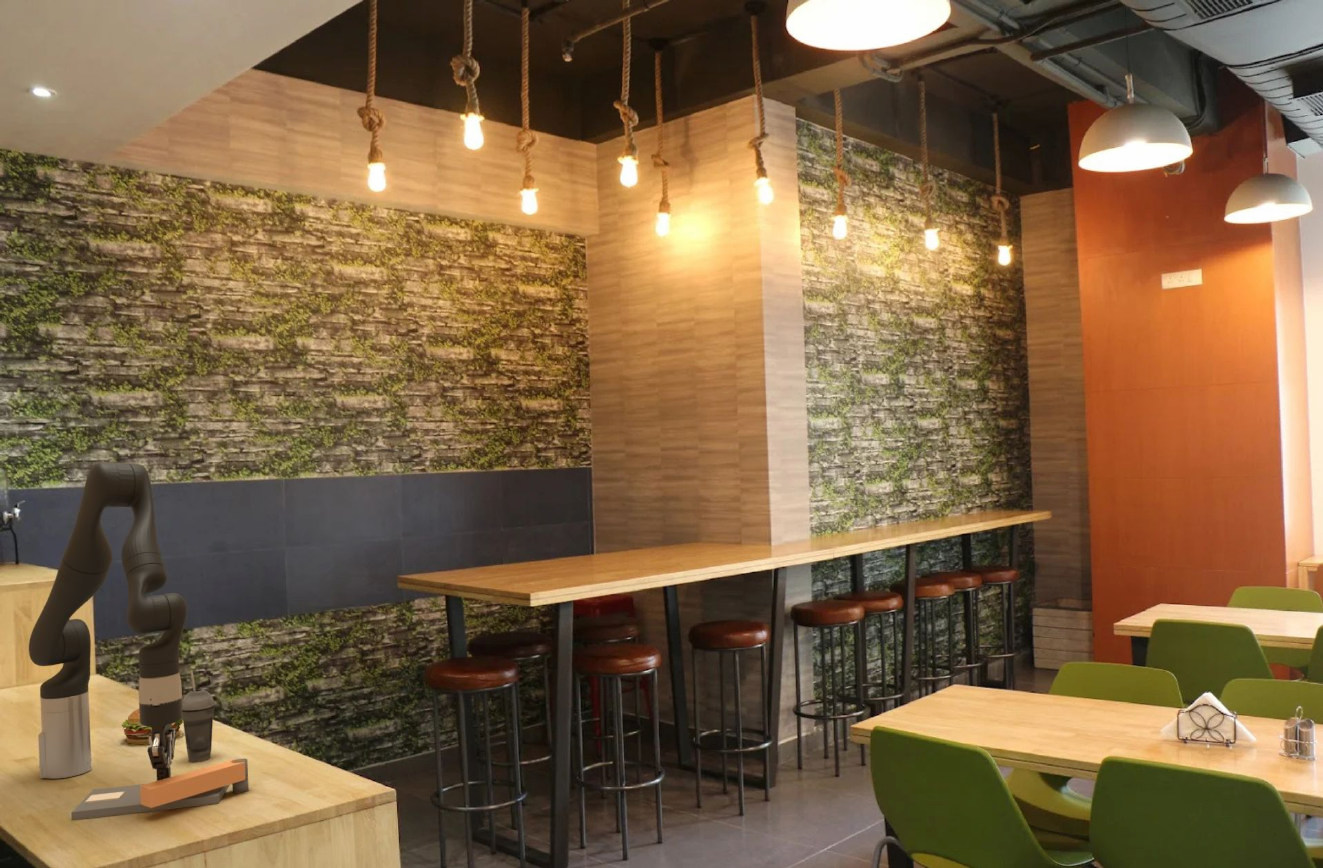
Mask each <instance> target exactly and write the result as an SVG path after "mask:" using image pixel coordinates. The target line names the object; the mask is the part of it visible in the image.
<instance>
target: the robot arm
mask: <svg viewBox="0 0 1323 868" xmlns="http://www.w3.org/2000/svg"><path fill="white" fill-rule="evenodd" d="M83 487H84V488H83V491H82V496H81V499H80V504H79V508H78V511H77V516H76V520H75V522H74V526H73V529H72V530H71V535H70V538H69V540H68V543H67V545H66V547H65V550H64V552H63V555H62V558H61V561H60V563H59V567H58V569H57V573H56V577H55V580H54V582H53V585H52V588H51V590H50V593H49V595H48V598H47V599H46V602H45V604H44V606H43V609H42V611H40V615H39V616H38V618H37V620H36V622H35V625H34V626H33V628H32V630H31V634H30V636H29V637H30V638H29V641H28V655H29V658H30V660H31V662H32V663H33V664H35V665H36V666H39V667H49V666H50V667H51V666H56V665H62V667H61V669H59V671H58V672H57V673H56V674H54V675H53V676H52V677H50V678H48V679H47V680H45V681H43V682H42V683H41V685H40V687H39V697H40V698H39V699H40V719H41V721H40V722H41V723H40V724H41V732H40V733H39V734H38V740H37V741H38V759H39V762H38V763H39V779H54V780H55V779H64V778H65V779H66V778H71V777H74V776H75V777H77V776H79V775H82V774H85V773H88V772H89V771H91V770H92V746H91V745H92V744H91V722H90V719H91V718H90V698H89V697H90V695H89V683H90V679H91V656H92V655H91V651H92V650H91V649H92V648H91V646H92V645H91V633H90V630H89V626H88V625H87V624H86V622H85V621H84V620H82V619H80V618H72V617H73V615H74V614H75V613H76V612H77V611H78V610H80V608H81V607H83V606H84V605H85V604H86V603H87V602H88V601H89V600H90V599H92V597H93V596H95V595H96V593H98V592H99V590H100V589H101V588H102V586H103V585H104V583H105V581H106V578H107V576H108V574H109V573H108V572H109V571H110V567H111V565H112V562H113V551H112V548H111V545H110V543H109V540H108V538H107V537H106V536H107V535H106V534H105V532H104V530H103V529H104V528H103V527H102V524H101V520H102V514H103V511H104V510H105V509H106V508H111V507H112V508H131V510H132V513H133V522H132V525H131V528H130V530H129V532H128V533H127V536H126V538H125V540H124V542H123V545H122V549H121V555H120V556H121V563H122V567H123V570H124V573H125V577H126V582H127V589H128V590H127V594H128V601H127V608H126V623H127V626H128V627H129V628H130V630H131V631H133V632H134V633H136V634H138V635H139V634H149V633H154V632H162V631H163V633H162V635H161V637H160V638H159V639H158V640H156V641H154V642H151V643H149V644H147V645H143V646H142V647H141V648H140V649H139V650H138V651H139V652H138V669H139V673H138V674H139V682H138V705H139V706H138V709H139V712H140V724H141V725H143V726H150V727H151V728H152V731H151V734H150V735H149V745H150V746H149V747H147V751H146V752H147V754H148V758H149V761H150V765H151V767H152V770H156V781H159V780H162V779H166V778H169V777H172V776H171V775H172V772H171V766H172V763H173V760H174V758H175V746H176V737H177V736H176V730H175V729H172V724H173V723H176V722H178V721H180V720H181V719H182V717H183V713H182V700H183V696H182V694H183V693H182V692H183V691H182V680H181V675H180V653H179V652H180V644H181V641H182V635H183V631H184V628H185V624H186V619H187V615H188V605H187V603H186V600H185V599H184V597H183V596H182V595H181V594H179V593H177V592H171V593H170V592H168V593H162V594H154V595H148V594H151V593H153V592H156V591H158V590H160V589H162V588H163V587H164V586H165V585H166V584H167V580H168V577H167V576H168V575H167V572H166V571H167V570H166V568H165V564H164V561H163V558H162V555H161V551H160V546H159V544H158V543H159V542H158V537H157V529H156V518H155V516H156V515H155V509H154V507H155V506H154V501H153V500H154V499H153V492H152V483H151V477H150V475H149V472H148V470H147V468H145V466H143V465H142V464H139V463H133V462H132V463H131V462H113V461H101V462H97V463H94V465H92V467H91V469H90V470H89V472H88V475H87V477H86V480H85V483H84V486H83Z"/></svg>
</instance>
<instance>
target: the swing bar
mask: <svg viewBox="0 0 1323 868" xmlns="http://www.w3.org/2000/svg"><path fill="white" fill-rule="evenodd" d="M248 763H249V762H248V758H237V759H235V758H234V759H230V760H227V761H224V762H218V763H217V764H213V765H209V766H205V767H202V768H199V769H195V770H191V771H187V772H185V773H181V774H177V775H173V776H171V777H169V778H166V779H162V780H159V781H157V780H156V781H152V782H148V783H143V784H144V785H141V786H140V795H141V805H144V806H147V807H150V808H153V807H156V806H160V805H163V804H166V803H170V802H173V801H176V800H180V799H183V798H186V797H190V796H193V795H196V794H200V793H203V792H206V791H210V790H213V789H216V788H219V787H223V786H226V785H229V786H230V785H232V784H233V783H236V782H239V781H243V780H246V778H248V779H249V768H248V767H249V765H248Z"/></svg>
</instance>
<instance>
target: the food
mask: <svg viewBox="0 0 1323 868" xmlns="http://www.w3.org/2000/svg"><path fill="white" fill-rule="evenodd" d="M127 717H128V718H126V719H125V720H124V721H123V722H122V724H121V727H122V729H123V733H124V736H125V737H126V742H127V743H129V744H131V745H132V744H133V745H148V744H149V735H150V734H151V731H152V728H151V727H150V726H143V725H141V724H140V712H139V708H136V709H135V710H133V711H132V712H131V713H130V714H129V715H128V716H127ZM182 724H183V719H181V720H180V721H178V722H176V723H173V724H172V729H175V730H176V737H178V736H179V734H180V729H181V726H182ZM149 745H150V744H149Z"/></svg>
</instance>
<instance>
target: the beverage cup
mask: <svg viewBox="0 0 1323 868" xmlns="http://www.w3.org/2000/svg"><path fill="white" fill-rule="evenodd" d="M189 672H190V679H191V685H192V690H191V691H189V692H187V693H186V694H185V696H184V697H182V713H183V717H182V719H183V723H182V724H183V729H184V730H183V731H184V738H185V745H186V752H187V758H188V762H189V763H199V762H204V761H208V760H210V759H211V757H212V756H211V754H212V746H213V745H212V742H213V740H212V739H213V725H214V724H213V722H214V714H215V707H216V704H215V701H214V698H213V696H212V695H211V693H209V692H208V691H207V690H206V689H200V688H199V689H198V688H197V689H196V683H195V679H194V677H195V676H194V670H193V669H190V671H189Z"/></svg>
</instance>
